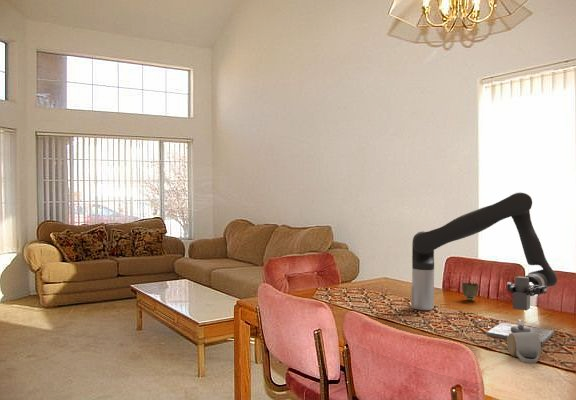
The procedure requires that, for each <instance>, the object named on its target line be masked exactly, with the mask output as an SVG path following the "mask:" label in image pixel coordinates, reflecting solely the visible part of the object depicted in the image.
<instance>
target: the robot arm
mask: <svg viewBox="0 0 576 400" xmlns="http://www.w3.org/2000/svg"><path fill="white" fill-rule="evenodd" d="M532 206H533V198H532V197H531V196H530V194H528V193H525V192H521V191H519V192H515V193H512V194H510V195H509V196H507V197H505V198H503V199H502V200H499V201H498V202H496V203H493V204H490V205H487V206H483V207H480V208H478V209H475V210H472V211H469V212H467V213H465V214H463V215H459V216H458V217H456V218H455V219H453V220H450V221H449V222H447V223H446V224H444V225H442V226H440V227H438V228H434V229H432V230H428V231H424V230H423V231H418V232H417V233H416V234H415V235H414V236H413V238H412V246H411V247H412V249H411V250H412V252H411V253H412V255H411V257H412V258H411V259H412V260H411V263H412V267H411V268H412V270H411V273H412V274H411V276H412V277H411V293H410V297H411V298H410V300H411V301H410V303H411V304H410V307H411V308H410V309H415V310H422V311H431V310H433V309H434V300H435V299H434V298H435V296H434V295H435V291H434V290H435V250H437V249H439V248H441V247H443V246H445V245H446V244H448V243H451V242H455V241H459V240H462V239H465V238H467V237H470V236H473V235H476V234H478V233H481V232H483V231H485V230H487V229H489V228H490V227H492V226H494V225H496V224H497V223H498V222H500V221H503V220H505V219H507V218H510V217H511V219H512V220H513V222H514V225H515V228H516V231H517V232H518V236H519V238H520V240H519V241H520V243H521V246H522V250H523V253H524V256H525V259H526V262H527V265H528V266H540V267H541V268H542V269H539V270H535V271H531V272H528V273H527V275H525V276H523V277H528V278H529V288H527V292H526V294H527V295H530V297H535V296H536V295H537V296H539V295H544V294H547V293H548V287H553V286H554V287H555V285H556V284H557V283H558V277H557V274H556V273H555V271H554V270H553V268H552V267H551V265H550V264H549V262H548V260H547V258H546V256H545V253H544V249H543V247H542V244H541V241H540V238H539V237H538V234H537V232H536V231H535V228H534V226H533V223H532V218H531V213H530V210H531V209H532ZM506 283H507V287H506V288H507V289H506V291H508V292H509V293H510V294H513V292H514V291H515V283H513V282H511V281H507V282H506Z"/></svg>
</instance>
